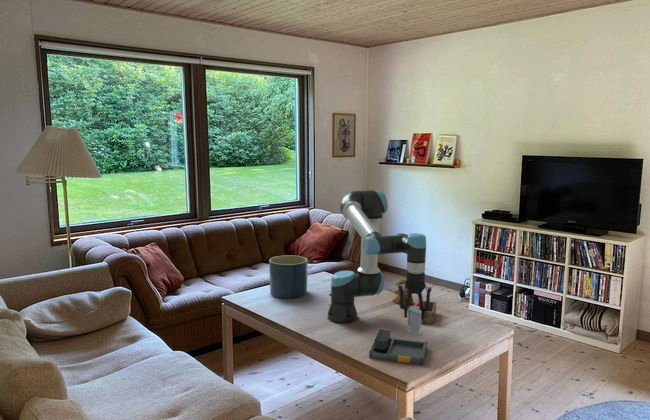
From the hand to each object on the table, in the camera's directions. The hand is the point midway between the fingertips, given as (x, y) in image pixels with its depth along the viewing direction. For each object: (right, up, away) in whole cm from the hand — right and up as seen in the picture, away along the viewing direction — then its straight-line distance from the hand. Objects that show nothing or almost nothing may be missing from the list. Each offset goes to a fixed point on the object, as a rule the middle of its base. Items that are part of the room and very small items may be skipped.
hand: (413, 325), depth 206 cm
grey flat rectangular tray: (-6, -12, +3) cm, 14 cm away
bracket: (+14, -6, +45) cm, 47 cm away
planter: (-58, -1, +82) cm, 101 cm away
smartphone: (-27, -1, +82) cm, 87 cm away
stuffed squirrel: (+7, -4, +66) cm, 66 cm away
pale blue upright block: (0, -1, 0) cm, 1 cm away
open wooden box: (+14, -6, +45) cm, 47 cm away
